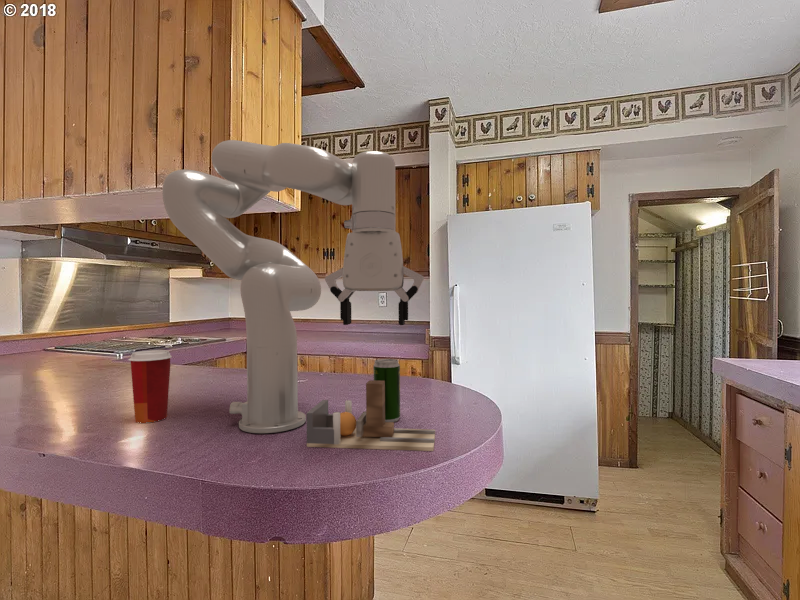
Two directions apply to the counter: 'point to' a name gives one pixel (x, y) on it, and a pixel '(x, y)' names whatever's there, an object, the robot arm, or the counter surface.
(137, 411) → the paper cup
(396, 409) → the beer can
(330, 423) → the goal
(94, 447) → the counter surface
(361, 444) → the board
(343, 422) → the ball
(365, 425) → the kicker
